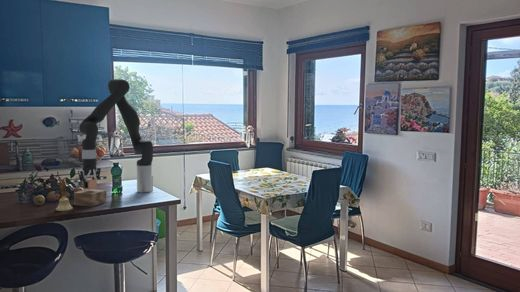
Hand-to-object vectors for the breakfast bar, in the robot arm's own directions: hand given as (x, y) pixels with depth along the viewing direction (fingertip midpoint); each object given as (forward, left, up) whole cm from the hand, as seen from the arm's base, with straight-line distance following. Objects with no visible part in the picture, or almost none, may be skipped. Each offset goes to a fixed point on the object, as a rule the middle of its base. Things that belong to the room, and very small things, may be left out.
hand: (90, 187), depth 234 cm
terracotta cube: (0, 0, -1) cm, 1 cm away
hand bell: (+16, -1, -9) cm, 19 cm away
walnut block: (0, 0, -9) cm, 9 cm away
